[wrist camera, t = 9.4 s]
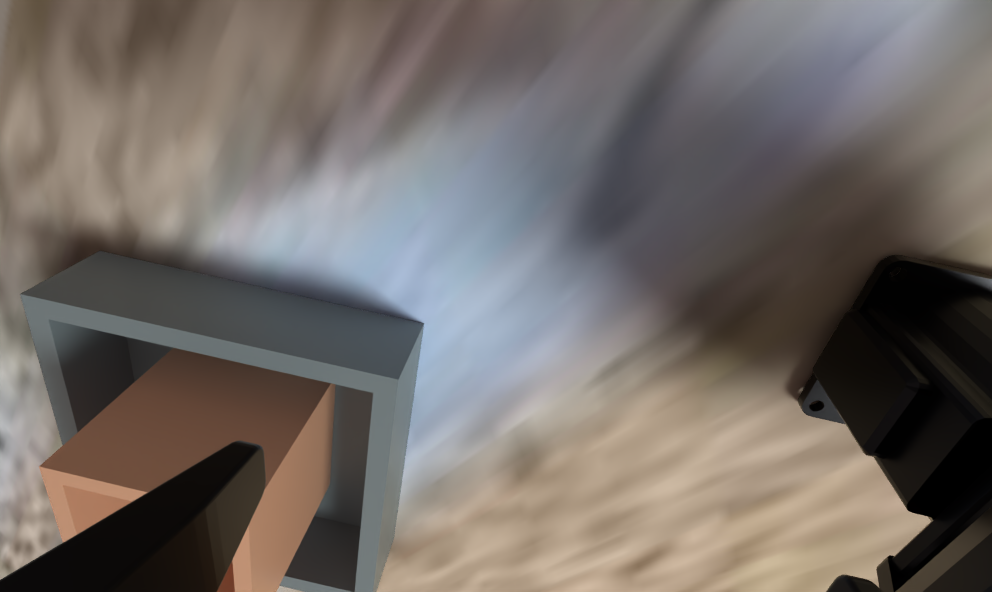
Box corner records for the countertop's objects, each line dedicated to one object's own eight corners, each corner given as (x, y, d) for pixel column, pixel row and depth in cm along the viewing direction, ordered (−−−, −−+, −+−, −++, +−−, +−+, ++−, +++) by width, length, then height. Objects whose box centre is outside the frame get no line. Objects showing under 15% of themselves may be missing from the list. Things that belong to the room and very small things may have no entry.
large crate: (426, 317, 22) (398, 379, 18) (396, 531, 28) (371, 606, 25) (107, 246, 22) (20, 294, 19) (149, 473, 28) (89, 541, 25)
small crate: (335, 375, 23) (248, 516, 17) (330, 484, 26) (254, 635, 20) (182, 339, 23) (39, 466, 17) (195, 452, 26) (78, 593, 20)
